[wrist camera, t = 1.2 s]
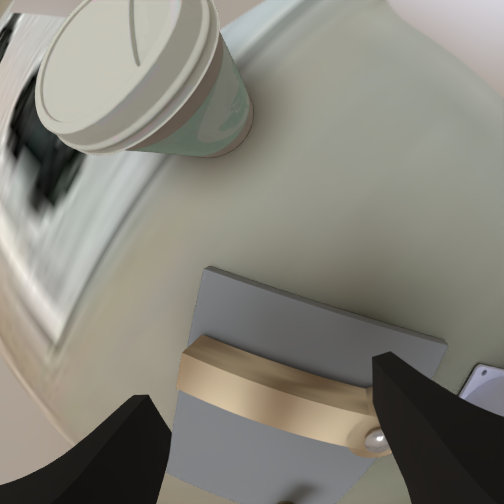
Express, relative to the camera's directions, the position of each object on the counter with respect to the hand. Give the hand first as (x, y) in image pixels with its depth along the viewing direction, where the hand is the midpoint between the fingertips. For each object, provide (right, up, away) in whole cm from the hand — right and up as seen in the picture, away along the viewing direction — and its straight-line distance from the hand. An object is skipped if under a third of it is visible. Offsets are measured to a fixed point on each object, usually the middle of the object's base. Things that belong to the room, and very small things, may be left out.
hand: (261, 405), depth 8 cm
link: (+3, -5, +10) cm, 12 cm away
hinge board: (+2, -10, +13) cm, 16 cm away
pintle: (+8, -7, +6) cm, 12 cm away
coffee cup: (-3, +14, +11) cm, 18 cm away
